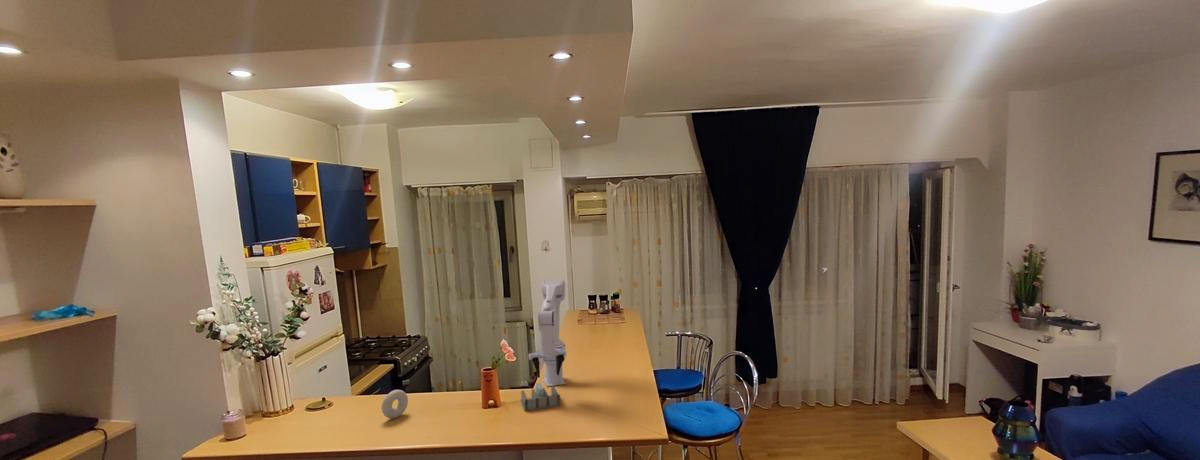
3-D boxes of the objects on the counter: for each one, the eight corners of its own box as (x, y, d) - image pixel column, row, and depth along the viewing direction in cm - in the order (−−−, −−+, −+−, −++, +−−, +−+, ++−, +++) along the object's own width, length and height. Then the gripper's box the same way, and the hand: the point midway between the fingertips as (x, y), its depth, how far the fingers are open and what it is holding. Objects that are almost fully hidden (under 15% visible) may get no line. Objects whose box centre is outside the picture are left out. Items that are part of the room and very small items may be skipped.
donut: (404, 411, 174) (403, 385, 174) (410, 413, 172) (409, 386, 172) (380, 421, 166) (379, 394, 165) (386, 424, 164) (385, 396, 163)
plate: (536, 398, 183) (535, 383, 183) (540, 397, 183) (540, 382, 183) (539, 405, 176) (538, 389, 176) (544, 404, 177) (543, 388, 176)
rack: (520, 401, 182) (520, 390, 182) (554, 396, 186) (554, 386, 186) (524, 411, 172) (524, 400, 172) (560, 405, 177) (560, 395, 176)
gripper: (530, 345, 175) (531, 381, 176) (567, 342, 180) (568, 376, 180) (527, 341, 182) (528, 375, 183) (563, 337, 186) (564, 370, 187)
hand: (548, 375), depth 182 cm, fingers open, 7 cm apart
